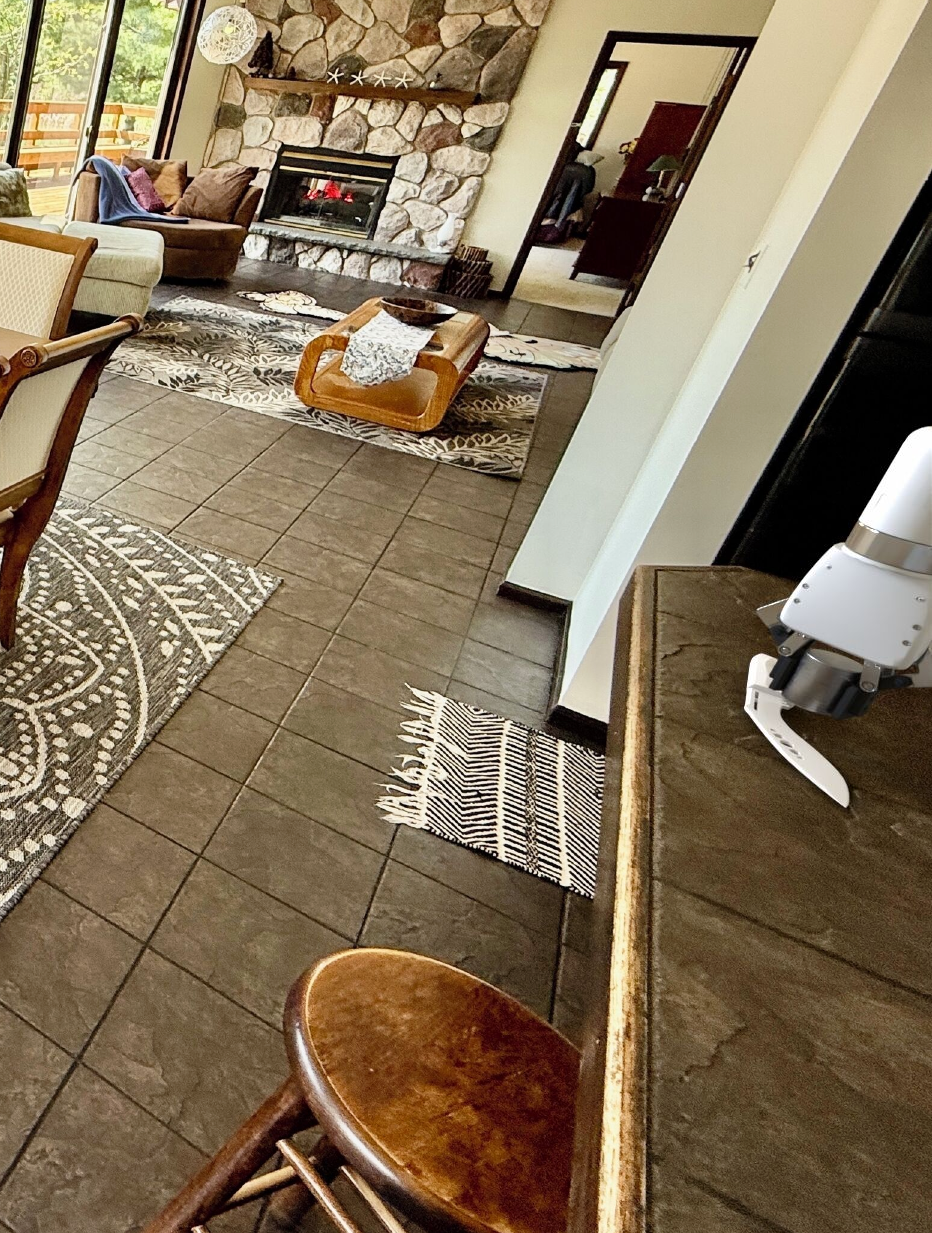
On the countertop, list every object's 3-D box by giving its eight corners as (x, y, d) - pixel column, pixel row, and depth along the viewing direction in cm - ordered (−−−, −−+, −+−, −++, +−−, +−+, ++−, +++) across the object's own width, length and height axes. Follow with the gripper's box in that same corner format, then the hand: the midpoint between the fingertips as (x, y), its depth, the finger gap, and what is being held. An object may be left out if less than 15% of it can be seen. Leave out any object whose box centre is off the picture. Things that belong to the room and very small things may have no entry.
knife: (854, 802, 84) (740, 758, 90) (845, 815, 85) (732, 771, 90) (848, 680, 103) (754, 649, 109) (840, 691, 104) (747, 660, 109)
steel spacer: (849, 713, 95) (877, 669, 92) (825, 719, 93) (852, 675, 91) (795, 688, 98) (820, 646, 96) (771, 694, 97) (796, 651, 95)
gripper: (1054, 588, 83) (942, 747, 90) (814, 512, 97) (734, 654, 104) (1013, 596, 80) (901, 759, 87) (773, 517, 95) (694, 662, 102)
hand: (811, 700), depth 96 cm, fingers closed on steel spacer, 4 cm apart
